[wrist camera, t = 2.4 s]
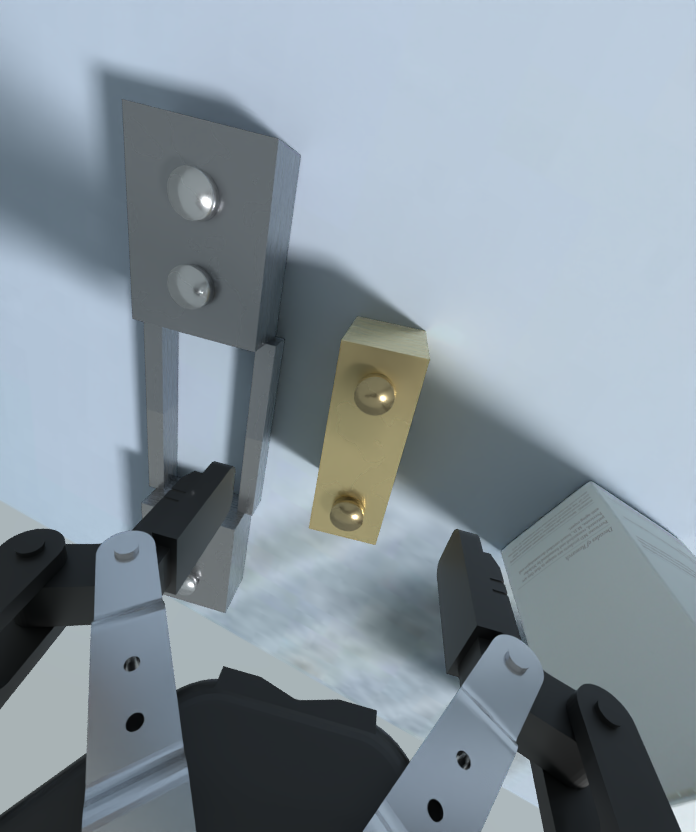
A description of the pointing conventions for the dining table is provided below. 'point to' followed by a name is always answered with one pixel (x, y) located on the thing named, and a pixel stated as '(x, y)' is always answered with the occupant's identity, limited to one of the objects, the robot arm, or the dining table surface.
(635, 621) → the supplement box
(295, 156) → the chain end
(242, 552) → the chain end
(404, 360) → the link
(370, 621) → the dining table surface
